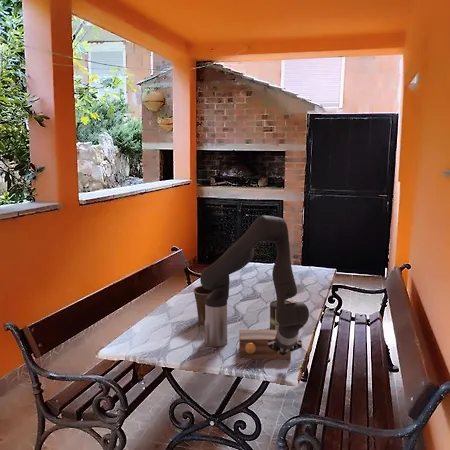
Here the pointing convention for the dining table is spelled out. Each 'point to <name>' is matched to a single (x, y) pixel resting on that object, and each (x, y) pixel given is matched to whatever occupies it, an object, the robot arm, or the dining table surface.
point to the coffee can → (274, 314)
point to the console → (259, 345)
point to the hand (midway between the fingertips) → (282, 352)
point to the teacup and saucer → (293, 300)
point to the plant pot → (201, 302)
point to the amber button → (250, 347)
